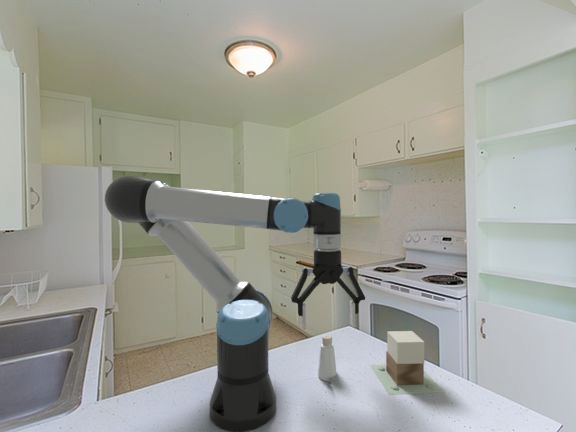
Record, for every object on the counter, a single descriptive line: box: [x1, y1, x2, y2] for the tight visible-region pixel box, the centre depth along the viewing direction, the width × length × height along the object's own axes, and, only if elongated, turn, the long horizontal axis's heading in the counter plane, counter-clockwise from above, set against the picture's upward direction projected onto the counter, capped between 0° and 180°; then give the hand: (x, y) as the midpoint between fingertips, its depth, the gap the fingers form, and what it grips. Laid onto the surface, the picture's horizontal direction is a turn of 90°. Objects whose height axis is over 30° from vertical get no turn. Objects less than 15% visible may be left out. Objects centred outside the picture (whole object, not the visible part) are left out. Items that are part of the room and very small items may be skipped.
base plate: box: [369, 363, 445, 396], centre depth 80 cm, size 14×14×1 cm
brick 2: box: [385, 351, 425, 386], centre depth 79 cm, size 7×7×6 cm
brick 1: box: [386, 330, 425, 364], centre depth 79 cm, size 7×7×6 cm
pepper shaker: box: [317, 334, 337, 382], centre depth 82 cm, size 5×5×11 cm
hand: (328, 326), depth 82 cm, fingers open, 13 cm apart
